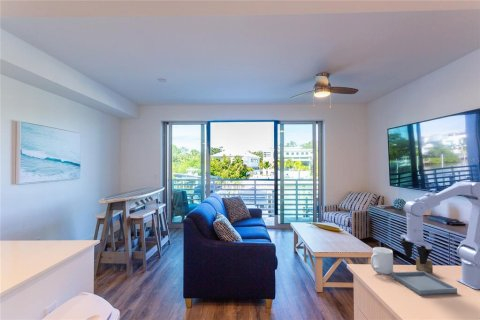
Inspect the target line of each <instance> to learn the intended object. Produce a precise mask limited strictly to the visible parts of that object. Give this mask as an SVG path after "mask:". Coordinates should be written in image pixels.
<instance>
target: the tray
mask: <svg viewBox="0 0 480 320" xmlns="http://www.w3.org/2000/svg"><path fill="white" fill-rule="evenodd" d="M390 278H392V279H393V280H394V281H396V282H398V283H399V284H401V285H403V286H404V287H406V288H407V289H409V290H410V291H412V292H414V293H415V294H417V295H418V296H421V297H422V296H435V295H438V296H440V295H454V294H458V288H457V287H455V286H453V285H452V284H449V283H448V282H445V281H444V280H442V279H440V278H437V277H436V276H434V275H433V274H432V275H431V274H428V273H426V272H424V271H418V270H416V271H398V272H395V271H393V273H391V274H390Z"/></svg>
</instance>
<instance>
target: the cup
mask: <svg viewBox="0 0 480 320" xmlns="http://www.w3.org/2000/svg"><path fill="white" fill-rule="evenodd" d="M393 253H394V252H393V250H392V249H390V248H387V247H382V246H381V247H380V246H375V247H373V248H372V255H371V257H370V266H371V268H372V269H373V270H374V272H377V273H379V274H382V275H391V273H394V254H393Z"/></svg>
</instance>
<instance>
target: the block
mask: <svg viewBox="0 0 480 320" xmlns="http://www.w3.org/2000/svg"><path fill="white" fill-rule="evenodd" d="M433 264H434V263H433V259H429V258H428V259H427V262H426V264H420V260H419V256H417V257H416V256H415V269H416V271H424V272H426V273H428V274H430V275H431V274H434V272H433V271H434V266H433Z"/></svg>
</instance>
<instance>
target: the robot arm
mask: <svg viewBox="0 0 480 320" xmlns="http://www.w3.org/2000/svg"><path fill="white" fill-rule="evenodd" d="M458 195H460V196H462V197H463V198H465V199H467V200H468V201H469V202H470V203H471V208H470V209H471V210H470V215H469V219H468V220H469V221H468V226H467V230H466V231H467V232H466V235H465V236H466V237H465V239H463V240H461V241H460V243H459V245H458V247H457V248H456V254H457V256H458V257H459V259H460V260H459V261H461V278H457V279H456V281H457V282H459V283H461V284H463V285H466V286H467V287H469V288H472V289H474V290H480V181H478V182H477V181H467V180H460V181H458V182H454V183H453V184H452V185H451V186H449V187H447V188H445V189H443V190H440V191H439V192H437V193H428V192H427V193H424V196H421V197H419V198H418V197H417V198H415V199H414V201H413V200H409V201H407V202H406V203H405V204H404V206H403V208H402V209H403V211H404V212H405V213H406V214H405V215H406V234H400V240H399V243H400V244H401V246H402V248H403V251H404V253H405V254H404V255H405V258H412V257H413V248H414V247H413V246H414V245H417V246H416V247H415V248H416V250H417V253H418V257H419V260H420V264H426V262H427V259H429V256H430V254H431V253H432V251H433V244H432V243H429V242H428V241H426V240H425V239H424V220H423V219H424V216H425V214H426V212H427V211H429V210H431V209H434V208H436V207H439V206H440V205H441V203H442V201H445V200H448V199H450V198H452V197H453V198H454V197H456V196H458Z"/></svg>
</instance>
